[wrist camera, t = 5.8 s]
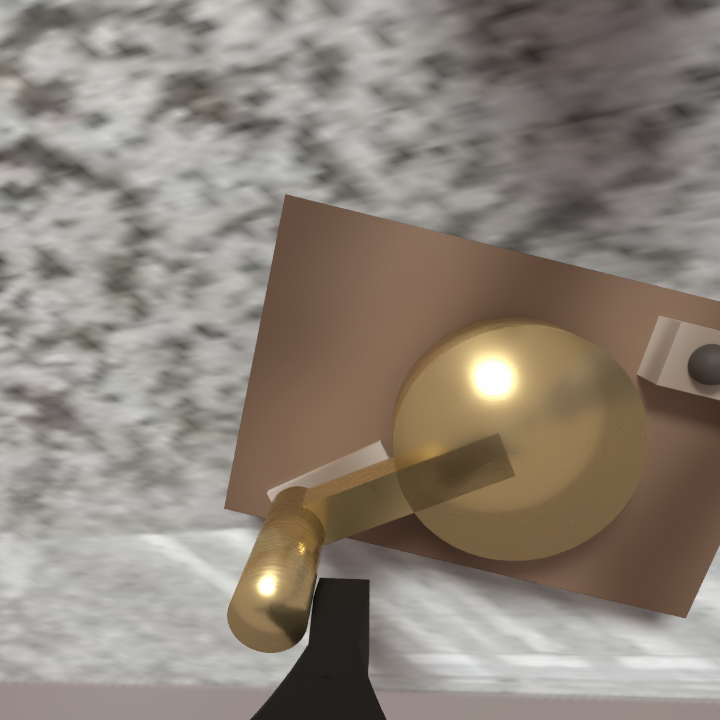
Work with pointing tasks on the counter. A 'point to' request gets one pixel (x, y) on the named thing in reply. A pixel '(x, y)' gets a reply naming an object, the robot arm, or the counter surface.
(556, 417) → the gold door handle
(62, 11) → the counter surface
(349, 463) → the stand
